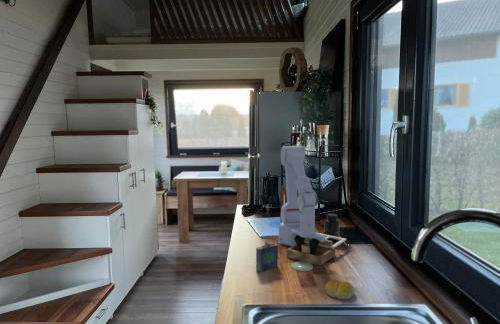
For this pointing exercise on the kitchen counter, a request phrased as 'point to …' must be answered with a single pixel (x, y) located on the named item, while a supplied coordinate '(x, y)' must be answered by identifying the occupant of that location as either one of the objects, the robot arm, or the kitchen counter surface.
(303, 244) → the brown cylinder
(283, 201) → the cleaning product box
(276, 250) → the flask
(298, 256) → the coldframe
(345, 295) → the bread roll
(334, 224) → the supplement bottle
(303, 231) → the robot arm
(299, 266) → the saucer
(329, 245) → the frame
